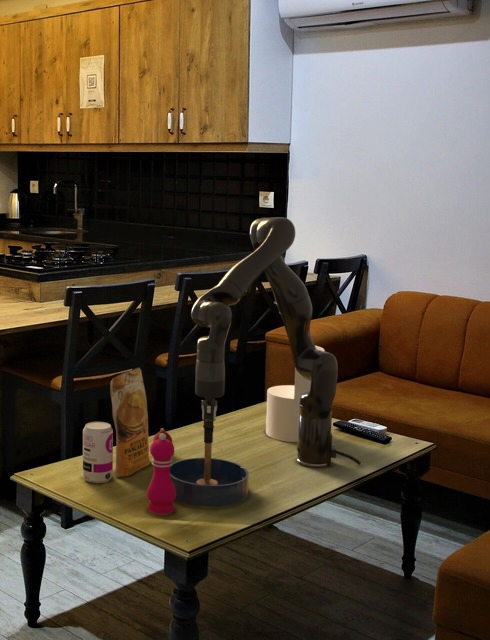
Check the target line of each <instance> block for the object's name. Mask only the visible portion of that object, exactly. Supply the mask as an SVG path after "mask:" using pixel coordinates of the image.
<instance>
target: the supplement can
mask: <svg viewBox="0 0 490 640" xmlns="http://www.w3.org/2000/svg"><path fill="white" fill-rule="evenodd" d="M113 463H114V430H113V428H112V425H111V424H110V423H108V422H104V421H91V422H88V423H86V424H85V426H84V428H83V429H82V478H83V479H84V480H85V481H86V482H88V483H92V484H103V483H108V482H110V480H111V479H112V478H113V472H114V471H113V470H114V469H113V468H114V466H113Z"/></svg>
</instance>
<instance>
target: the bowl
mask: <svg viewBox="0 0 490 640" xmlns="http://www.w3.org/2000/svg"><path fill="white" fill-rule="evenodd" d="M249 472H250V471H248V469H247V468H246V467H245V466H243V465H241V464H239V463H237V462H233V461H230V460H226V459H223V458H222V459H221V458H214V457H211V479H213V480H216V481H217V482H218V485H201V484H196V482H197V480H199V479H204V457H192V458H191V457H190V458H184V459H180V460H177V461H174V462H172V465H171V466H170V477H171V480H172V482H173V485H174V487H175V490H176V498H175V500H176V501H178V502H180V503H184V504H186V505H187V504H188V505H191V506H197V507H206V508H207V507H209V508H219V507H228V506H233V505H236V504H240V503H241V502H243V501H245V500H246V499H247V498H248V496H249V480H250V479H249V478H250V477H249V476H250V475H249Z"/></svg>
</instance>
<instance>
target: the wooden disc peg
mask: <svg viewBox="0 0 490 640" xmlns="http://www.w3.org/2000/svg"><path fill="white" fill-rule="evenodd" d="M212 444H213V442H212V443H205V442H204V452H203V453H204V454H203V455H204V457H203V458H204V479H199V480H197V482H196V484H201V485H218V482H217V481H216V480H213V479H211V458H212V449H213V448H212V446H213V445H212Z"/></svg>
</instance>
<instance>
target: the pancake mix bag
mask: <svg viewBox="0 0 490 640" xmlns="http://www.w3.org/2000/svg"><path fill="white" fill-rule="evenodd" d="M109 384H110V386H109V387H110V388H109V392H110V399H111V406H112V419H113V425H114V429H115V438H116V439H115V441H116V442H115V443H116V445H115V469H114V475H115V477H116V478H121V477H129V476H132V475H134V474H136V473H137V471H140V470H141V469H142V468H145V467H147V466H149V465H150V464H151V461H150V456H149V455H150V454H149V453H150V444H149V443H150V442H149V440H150V438H149V414H148V401H147V400H148V399H147V393H146V388H145V384H144V377H143V372H142V369H141V367H135V368H133V369H131V370H128V371H124V372H122V373H121V374H118V375H116V376H115V377H113V378H112V379H111V380H110V383H109Z"/></svg>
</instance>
